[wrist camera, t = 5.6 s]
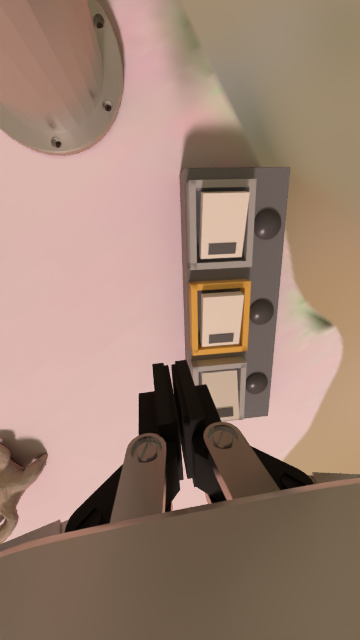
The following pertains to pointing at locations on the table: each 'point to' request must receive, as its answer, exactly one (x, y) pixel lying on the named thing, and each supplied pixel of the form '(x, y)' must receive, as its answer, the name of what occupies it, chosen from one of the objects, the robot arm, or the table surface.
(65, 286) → the table surface
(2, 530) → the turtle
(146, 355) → the table surface
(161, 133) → the table surface
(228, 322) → the rocker middle
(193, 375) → the rocker switch panel
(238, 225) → the rocker
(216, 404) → the rocker
